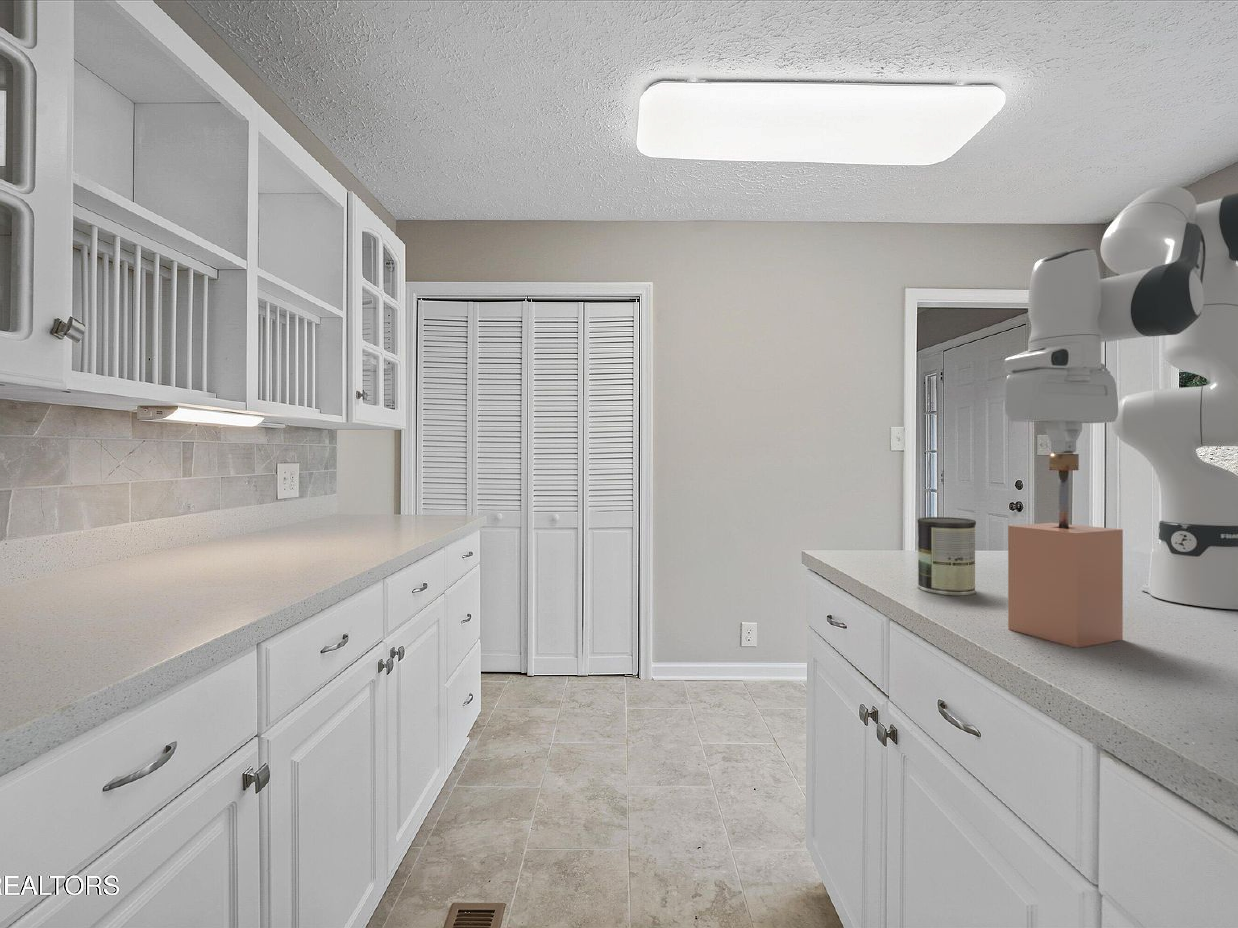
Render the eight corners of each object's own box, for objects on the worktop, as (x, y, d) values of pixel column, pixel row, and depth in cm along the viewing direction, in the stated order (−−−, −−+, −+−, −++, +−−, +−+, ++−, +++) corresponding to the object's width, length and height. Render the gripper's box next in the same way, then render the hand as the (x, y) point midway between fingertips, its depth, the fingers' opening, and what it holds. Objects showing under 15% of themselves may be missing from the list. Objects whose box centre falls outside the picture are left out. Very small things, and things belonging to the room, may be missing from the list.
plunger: (1054, 536, 96) (1054, 454, 96) (1109, 542, 89) (1109, 453, 89) (1020, 539, 93) (1020, 454, 93) (1073, 546, 86) (1073, 454, 86)
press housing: (1052, 622, 98) (1052, 522, 98) (1122, 639, 89) (1122, 529, 88) (1008, 629, 94) (1008, 525, 94) (1077, 647, 85) (1077, 533, 85)
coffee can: (906, 588, 124) (906, 518, 124) (936, 582, 129) (936, 515, 129) (957, 598, 115) (956, 523, 115) (986, 591, 120) (986, 520, 120)
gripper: (1086, 366, 98) (1086, 453, 98) (995, 360, 90) (995, 453, 90) (1131, 360, 92) (1131, 452, 92) (1038, 353, 84) (1038, 453, 85)
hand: (1063, 453), depth 91 cm, fingers closed
